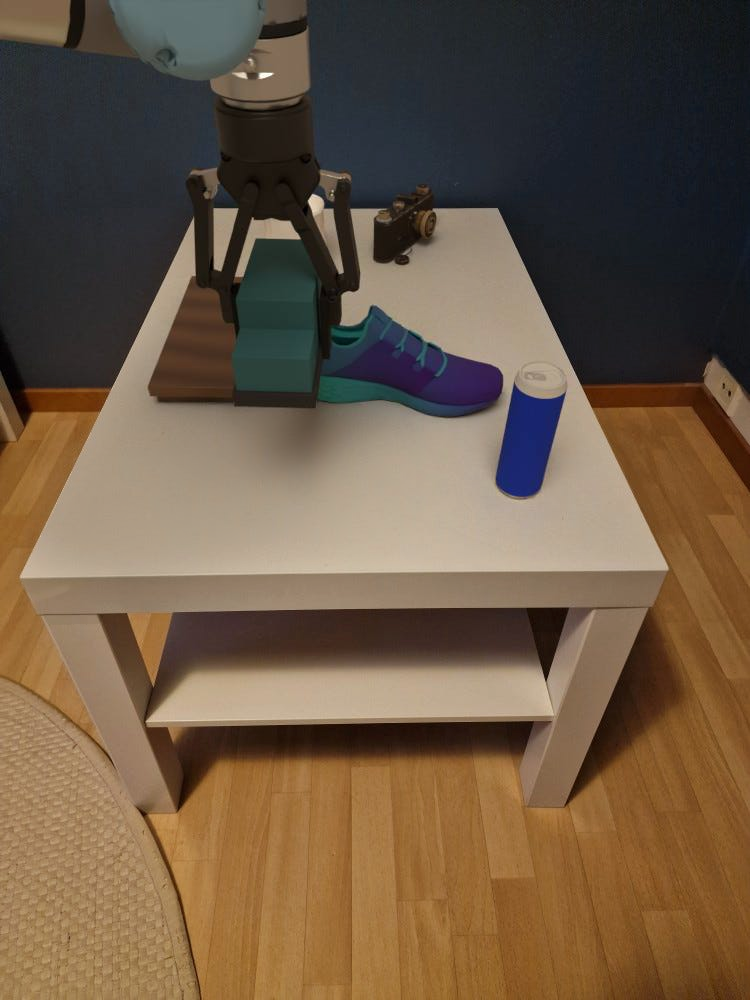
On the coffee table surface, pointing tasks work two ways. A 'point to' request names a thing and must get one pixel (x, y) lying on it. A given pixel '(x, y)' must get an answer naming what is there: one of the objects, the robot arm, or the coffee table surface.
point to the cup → (285, 228)
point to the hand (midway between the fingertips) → (285, 350)
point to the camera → (403, 225)
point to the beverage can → (530, 428)
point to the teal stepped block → (278, 328)
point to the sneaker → (403, 370)
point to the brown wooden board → (197, 351)
